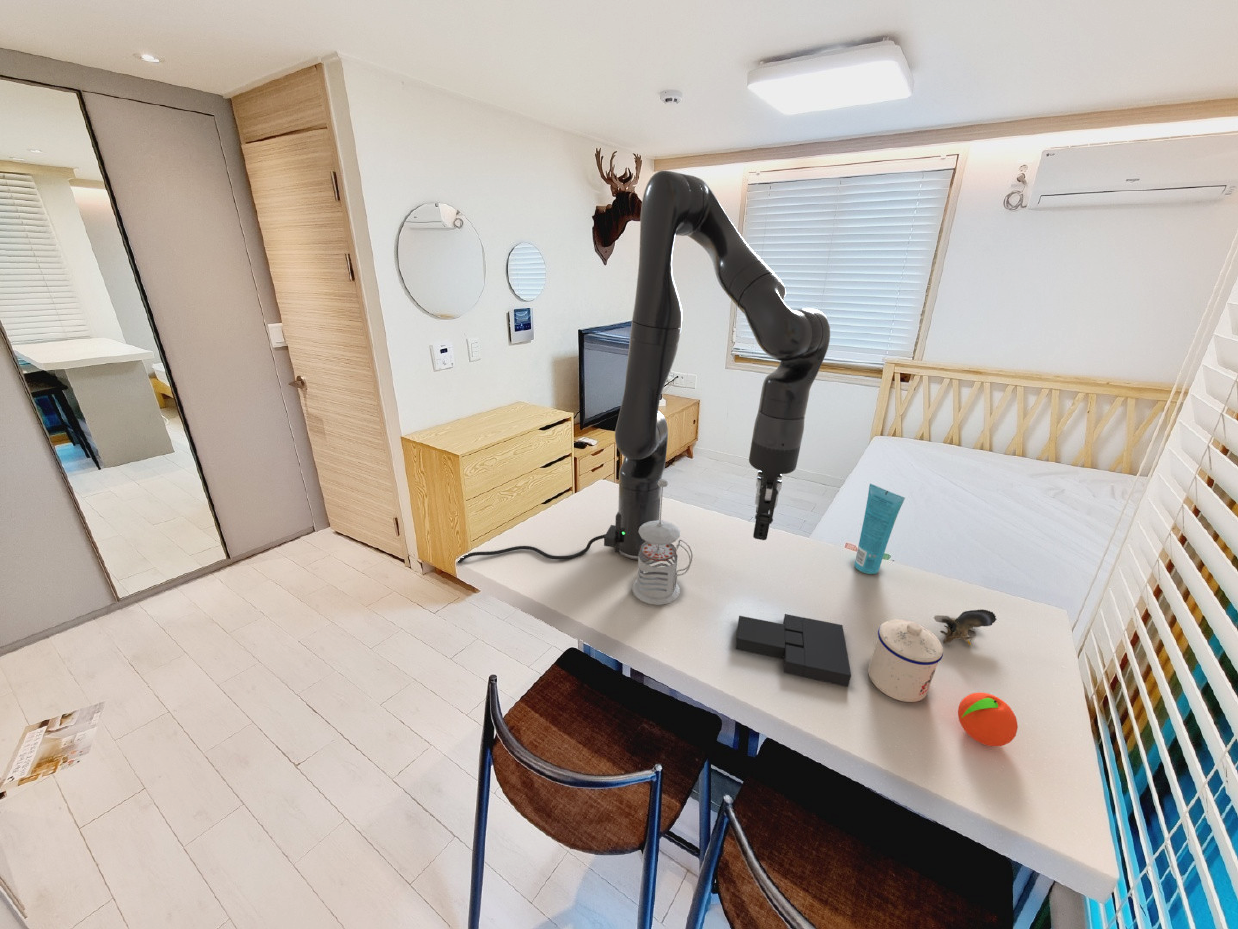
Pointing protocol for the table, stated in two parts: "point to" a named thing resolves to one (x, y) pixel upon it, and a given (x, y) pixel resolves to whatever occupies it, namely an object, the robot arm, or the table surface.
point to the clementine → (987, 719)
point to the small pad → (765, 637)
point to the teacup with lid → (904, 660)
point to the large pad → (817, 651)
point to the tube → (876, 528)
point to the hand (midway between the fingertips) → (760, 525)
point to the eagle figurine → (965, 624)
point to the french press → (658, 580)
